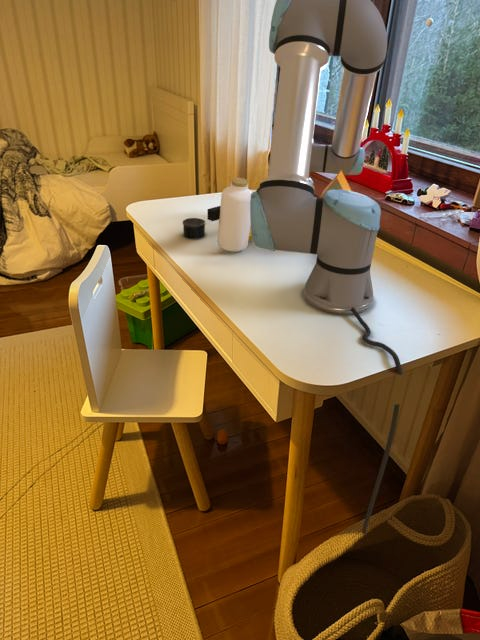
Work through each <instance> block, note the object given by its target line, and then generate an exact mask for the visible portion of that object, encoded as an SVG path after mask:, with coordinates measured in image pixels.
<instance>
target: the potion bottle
mask: <svg viewBox="0 0 480 640" xmlns="http://www.w3.org/2000/svg"><path fill="white" fill-rule="evenodd" d="M253 192H254V191H252V190H251V189H249V181H248V180H247V179H246V178H244V177H233V178H231V182H230V186H227V187H224V189H222V192H221V195H220V197H221V199H220V205H219V206H220V216H219V220H218V227H217V235H216V237H217V238H216V243H217V245H218V246H219V247H220V248H221V249H222V250H224V251H228V252H231V253H232V252H233V253H236V252H241V251H244V250H245V249H246V248H247V247H248V245H249V241H248V239H249V232H250V226H251V220H250V200H251V194H252V193H253Z"/></svg>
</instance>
